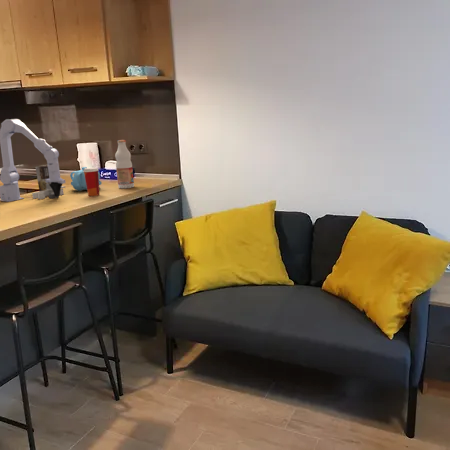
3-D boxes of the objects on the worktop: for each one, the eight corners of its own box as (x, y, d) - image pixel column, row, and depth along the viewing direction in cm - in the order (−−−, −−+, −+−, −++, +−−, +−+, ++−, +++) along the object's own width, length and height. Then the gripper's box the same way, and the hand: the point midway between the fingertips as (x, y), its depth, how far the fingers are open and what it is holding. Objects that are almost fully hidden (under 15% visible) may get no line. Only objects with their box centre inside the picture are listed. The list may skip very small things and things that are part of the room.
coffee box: (58, 191, 277) (55, 164, 273) (52, 193, 271) (48, 166, 267) (45, 191, 280) (41, 164, 276) (39, 193, 274) (34, 166, 270)
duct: (39, 199, 254) (38, 193, 253) (32, 198, 257) (32, 193, 256) (63, 194, 267) (63, 188, 266) (57, 193, 270) (56, 188, 269)
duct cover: (52, 190, 260) (51, 184, 260) (46, 189, 263) (45, 183, 262) (65, 187, 268) (64, 181, 267) (59, 187, 270) (58, 181, 270)
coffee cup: (95, 193, 264) (92, 167, 260) (104, 194, 259) (101, 167, 255) (83, 195, 258) (79, 169, 254) (91, 197, 253) (88, 169, 249)
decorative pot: (103, 189, 275) (101, 167, 272) (76, 193, 268) (73, 169, 265) (97, 186, 289) (94, 164, 286) (70, 189, 282) (67, 167, 279)
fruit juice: (116, 187, 281) (111, 140, 274) (130, 185, 286) (126, 139, 279) (121, 189, 273) (116, 141, 266) (136, 187, 278) (132, 139, 271)
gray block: (52, 199, 254) (52, 194, 254) (49, 198, 256) (48, 194, 256) (59, 197, 257) (58, 193, 257) (55, 197, 259) (54, 192, 259)
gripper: (68, 170, 251) (71, 195, 254) (51, 169, 259) (55, 193, 262) (57, 172, 245) (61, 197, 248) (40, 171, 253) (44, 196, 256)
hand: (57, 195), depth 255 cm, fingers closed
